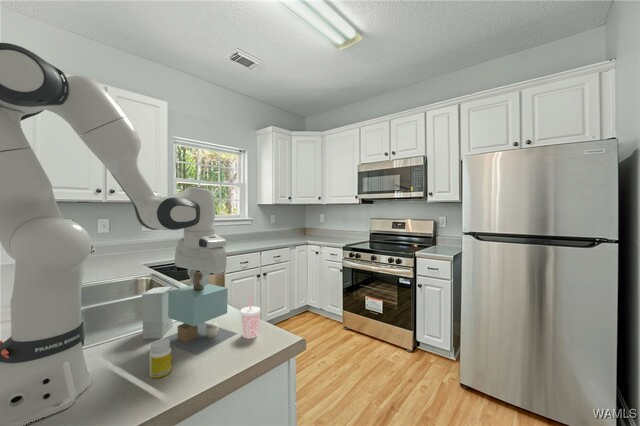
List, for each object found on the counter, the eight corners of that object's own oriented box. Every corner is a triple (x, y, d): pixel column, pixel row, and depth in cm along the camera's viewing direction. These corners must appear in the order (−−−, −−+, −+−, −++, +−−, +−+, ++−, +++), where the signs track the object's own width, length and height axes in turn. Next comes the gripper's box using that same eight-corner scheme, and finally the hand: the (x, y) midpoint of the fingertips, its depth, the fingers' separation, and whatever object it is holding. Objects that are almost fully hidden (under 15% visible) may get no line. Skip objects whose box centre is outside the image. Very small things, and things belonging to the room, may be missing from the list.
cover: (193, 326, 78) (194, 280, 78) (168, 317, 84) (168, 274, 84) (227, 313, 88) (227, 272, 88) (202, 306, 94) (203, 267, 94)
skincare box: (162, 341, 86) (162, 293, 85) (141, 342, 85) (140, 294, 84) (173, 329, 94) (172, 285, 94) (153, 330, 93) (153, 286, 93)
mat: (196, 358, 76) (196, 340, 76) (160, 343, 84) (160, 326, 84) (237, 336, 89) (237, 321, 89) (202, 324, 97) (202, 310, 97)
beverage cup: (236, 341, 86) (236, 296, 86) (246, 332, 92) (246, 290, 92) (254, 343, 84) (254, 297, 84) (263, 334, 90) (263, 291, 90)
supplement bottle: (175, 375, 69) (175, 341, 68) (155, 385, 65) (155, 349, 64) (165, 368, 71) (165, 336, 71) (145, 377, 67) (145, 343, 67)
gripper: (169, 238, 88) (168, 281, 88) (212, 243, 78) (212, 292, 78) (187, 236, 94) (186, 277, 94) (230, 241, 84) (229, 287, 84)
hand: (198, 284), depth 86 cm, fingers closed on cover, 3 cm apart
